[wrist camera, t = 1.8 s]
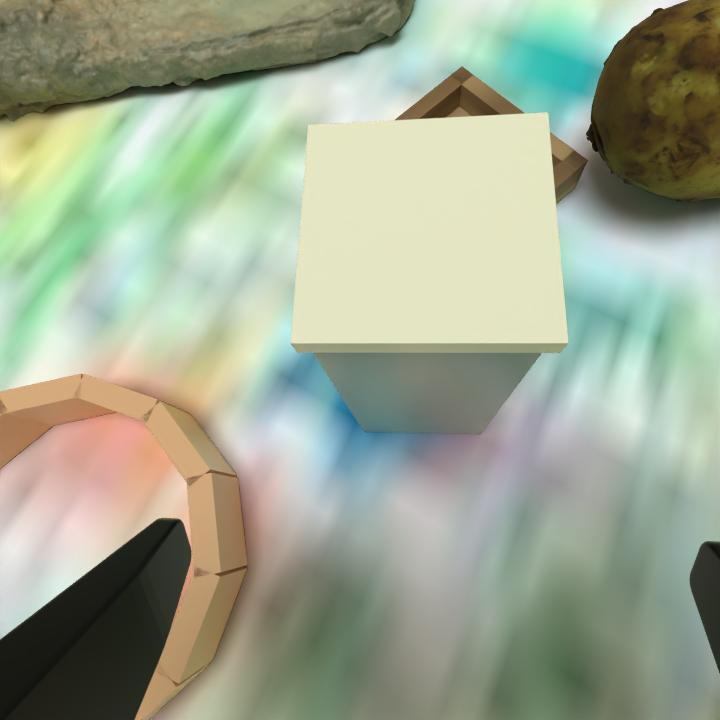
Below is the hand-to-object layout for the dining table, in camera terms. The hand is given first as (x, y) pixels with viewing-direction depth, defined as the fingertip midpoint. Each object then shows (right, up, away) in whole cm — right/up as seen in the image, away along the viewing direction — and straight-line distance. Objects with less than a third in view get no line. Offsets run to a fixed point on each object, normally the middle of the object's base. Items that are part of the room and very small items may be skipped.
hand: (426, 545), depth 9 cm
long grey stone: (-15, +22, +22) cm, 35 cm away
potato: (+15, +13, +16) cm, 25 cm away
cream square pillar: (+2, +2, +14) cm, 14 cm away
